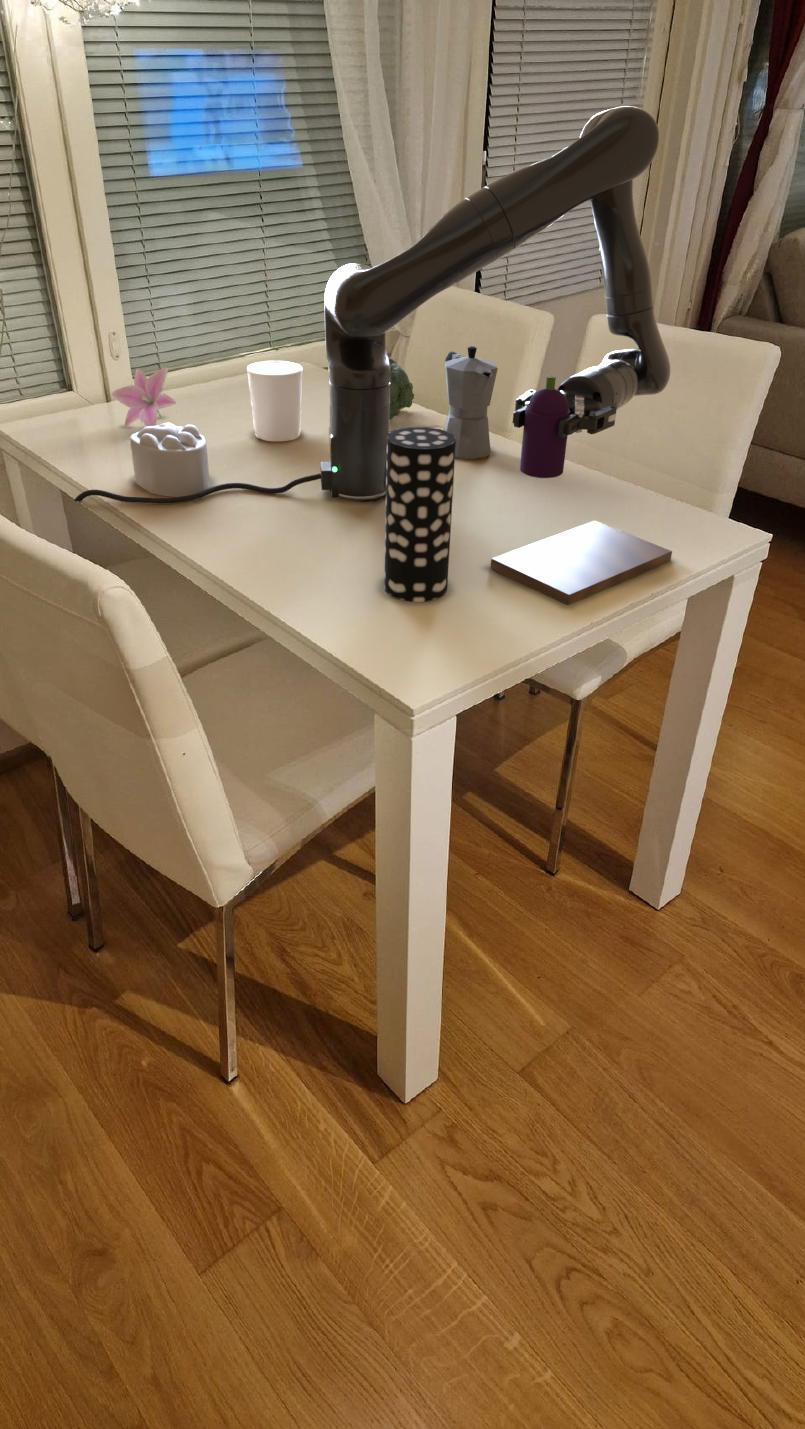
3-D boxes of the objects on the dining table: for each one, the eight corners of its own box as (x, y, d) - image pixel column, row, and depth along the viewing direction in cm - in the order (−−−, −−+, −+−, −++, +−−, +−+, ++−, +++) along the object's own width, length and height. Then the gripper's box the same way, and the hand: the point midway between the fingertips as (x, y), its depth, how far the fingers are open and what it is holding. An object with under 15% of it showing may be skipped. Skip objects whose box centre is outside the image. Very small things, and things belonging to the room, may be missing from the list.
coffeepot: (506, 459, 172) (516, 353, 162) (459, 466, 169) (465, 358, 159) (465, 433, 184) (472, 333, 174) (420, 439, 180) (424, 336, 170)
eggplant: (524, 478, 134) (533, 383, 127) (515, 463, 139) (524, 370, 132) (567, 478, 134) (579, 382, 127) (557, 462, 139) (567, 370, 132)
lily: (113, 422, 187) (96, 384, 179) (163, 389, 190) (148, 350, 182) (149, 456, 182) (133, 419, 174) (199, 422, 186) (186, 384, 177)
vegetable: (439, 404, 191) (407, 386, 178) (390, 447, 196) (356, 432, 182) (406, 357, 193) (373, 335, 180) (359, 400, 198) (323, 382, 185)
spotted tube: (382, 574, 132) (384, 427, 121) (443, 573, 133) (451, 427, 122) (386, 602, 125) (389, 449, 114) (450, 601, 126) (460, 449, 115)
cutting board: (567, 605, 126) (569, 594, 125) (490, 568, 135) (491, 558, 134) (670, 561, 138) (672, 551, 138) (593, 529, 147) (594, 520, 146)
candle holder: (315, 433, 182) (313, 366, 175) (282, 447, 175) (279, 378, 168) (273, 423, 186) (270, 357, 179) (239, 436, 179) (235, 368, 172)
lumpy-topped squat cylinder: (183, 465, 165) (177, 414, 160) (225, 487, 157) (221, 434, 152) (127, 479, 159) (120, 426, 155) (168, 502, 151) (162, 447, 147)
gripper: (549, 361, 144) (493, 387, 132) (641, 378, 137) (591, 406, 126) (544, 413, 148) (489, 441, 136) (633, 431, 142) (584, 463, 130)
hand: (538, 425), depth 131 cm, fingers closed on eggplant, 6 cm apart
